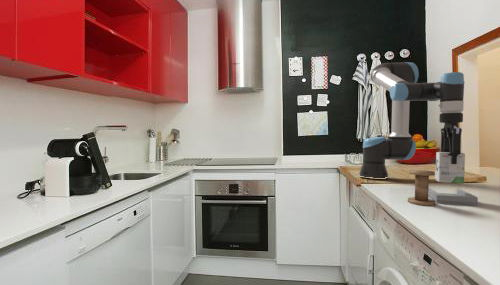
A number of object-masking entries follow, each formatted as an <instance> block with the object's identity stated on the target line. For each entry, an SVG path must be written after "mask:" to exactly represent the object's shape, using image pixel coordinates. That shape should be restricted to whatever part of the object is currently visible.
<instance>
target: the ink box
mask: <svg viewBox="0 0 500 285" xmlns="http://www.w3.org/2000/svg"><path fill="white" fill-rule="evenodd" d="M435 153H436V155H435V157H436V158H435V175H434V176H435V177H434V180H435V181H436V182H438V183H448V184H449V183H451V184H465V170H466V169H465V166H466V165H465V164H466V162H465V161H466V153H463V152H461V154H459V155H458V158H457V173H452V172H448V159H449V156H448V154H450V152H441V151H437V152H435Z"/></svg>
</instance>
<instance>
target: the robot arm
mask: <svg viewBox="0 0 500 285" xmlns="http://www.w3.org/2000/svg"><path fill="white" fill-rule="evenodd" d="M419 76H420V75H419V68H418V66H417V65H416V64H415V62H408V61H402V62H384V63H380V64H378V65H376V66H374V68H373V69H372V70H371V72H370V80H371V81H372V83H373V84H375V85H376V86H380V87H382V88H384V89H385V90H386V91H388V92H389V97H390V99H391V129H390V130H391V132H390V134H389V135H388V137H387V138H386V136H376V137H375V136H374V137H368V138H364V139H363V142H362V165H361V167H360V171H359V175H360V176H364V177H373V178H385V177H388V178H389V173H388V170H387V167H386V160H388V161H389V160H392V161H393V160H396V161H397V160H400V161H403V160H405V161H407V160H410V159H412V158H413V156H414V155H415V153H416V149H417V145H416V141H415V140H414V139H412V135H411V134H410V133H409V126H410V125H409V124H410V102H413V101H415V102H416V101H418V102H419V101H420V102H421V101H427V102H437V101H439V104H438V107H439V123H440V124H444V126H443V128H440V133H441V134H440V152H450V154H448V156H449V159H448V172H452V173H457V158H458V155H459V154H461V153H462V149H461V148H462V132H463V129H462V128H461V127H459V125H458V123H463V122H464V113H463V112H464V106H465V105H464V92H465V78H464V77H465V74H464V73H463V72H459V71H453V72H447V73H446V72H445V73H442V74H441V75H440V79H439V81H438V82H437V81H436V82H418V80H419Z"/></svg>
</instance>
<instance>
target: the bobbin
mask: <svg viewBox="0 0 500 285" xmlns="http://www.w3.org/2000/svg"><path fill="white" fill-rule="evenodd" d="M409 174H410V175H413V176H415V177H414V181H415V182H414V196H412V197H411V196H410V197H408V198H407V203H409V204H412V205H416V206H417V205H418V206H424V207H432V206H433V207H434V206H436V204H437V203H436V201H434V200H432V199H431V198H429V197H428V191H429V188H430V186H429V183H430V177H431V176H432V177H433V176H435V174H436V171H432V170H427V169H410V170H409Z"/></svg>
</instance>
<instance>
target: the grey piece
mask: <svg viewBox="0 0 500 285" xmlns="http://www.w3.org/2000/svg"><path fill="white" fill-rule="evenodd" d="M428 199H432V200H434V201H436V203H435V204H444V205H445V204H448V205H465V206H478V204H479V201H478V199H479V197H478V196H476V195H475V194H471V193H469V192H468V191H465V189H464V190H463V189H460V188H457V189H456V193H449V192H448V193H443V192H437V191H436V190H434V189H432V188H430V187H429V191H428Z"/></svg>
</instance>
